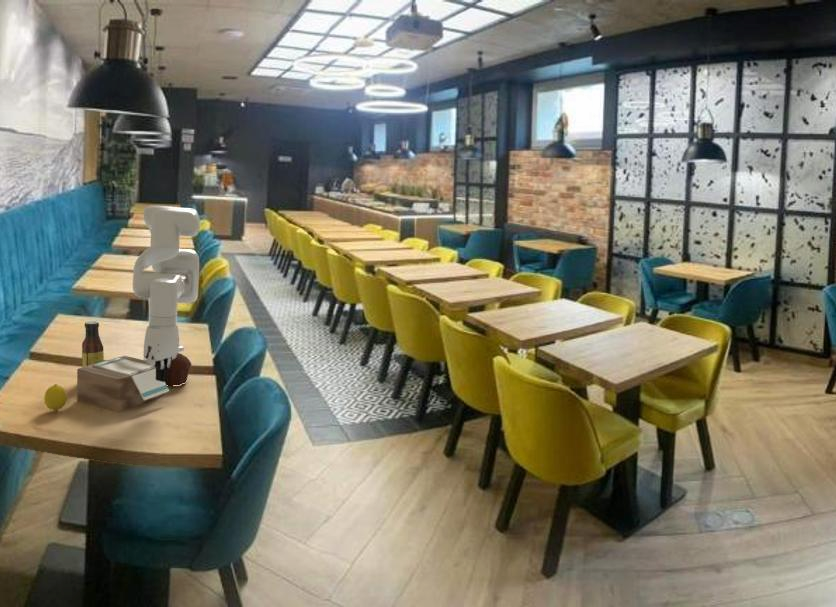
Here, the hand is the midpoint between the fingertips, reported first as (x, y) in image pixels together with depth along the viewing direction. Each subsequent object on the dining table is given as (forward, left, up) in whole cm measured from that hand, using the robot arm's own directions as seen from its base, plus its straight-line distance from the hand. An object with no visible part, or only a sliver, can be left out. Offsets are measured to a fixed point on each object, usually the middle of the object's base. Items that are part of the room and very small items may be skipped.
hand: (161, 380), depth 189 cm
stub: (0, -4, -2) cm, 4 cm away
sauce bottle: (-6, -33, -9) cm, 35 cm away
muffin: (-20, -13, -9) cm, 25 cm away
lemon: (+18, -21, -9) cm, 29 cm away
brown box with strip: (0, -15, -9) cm, 17 cm away
